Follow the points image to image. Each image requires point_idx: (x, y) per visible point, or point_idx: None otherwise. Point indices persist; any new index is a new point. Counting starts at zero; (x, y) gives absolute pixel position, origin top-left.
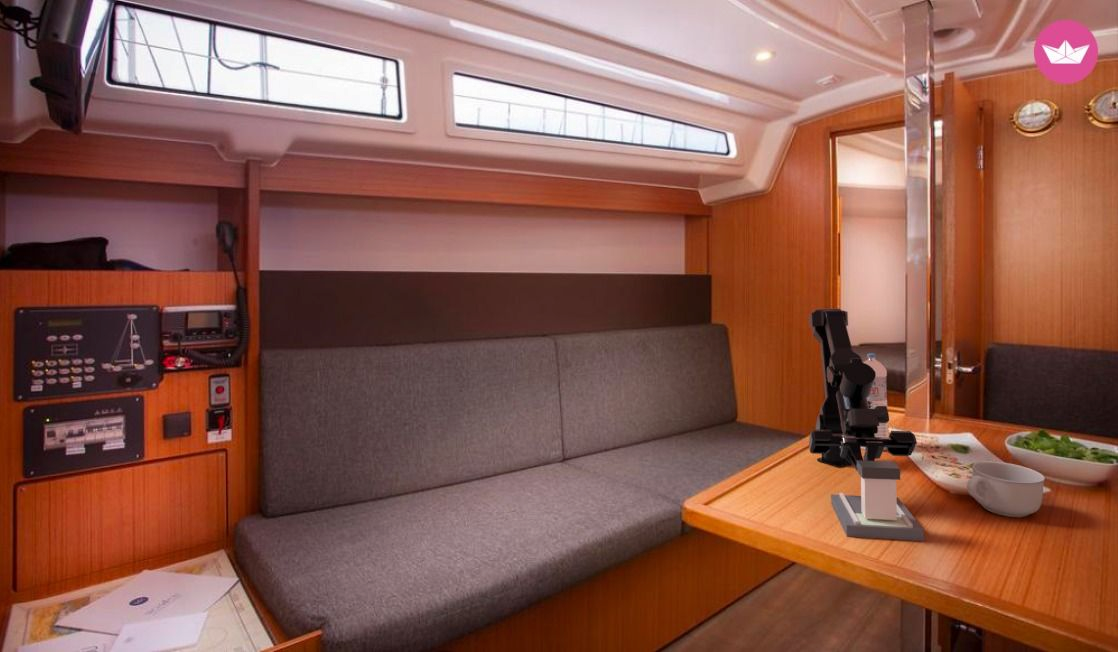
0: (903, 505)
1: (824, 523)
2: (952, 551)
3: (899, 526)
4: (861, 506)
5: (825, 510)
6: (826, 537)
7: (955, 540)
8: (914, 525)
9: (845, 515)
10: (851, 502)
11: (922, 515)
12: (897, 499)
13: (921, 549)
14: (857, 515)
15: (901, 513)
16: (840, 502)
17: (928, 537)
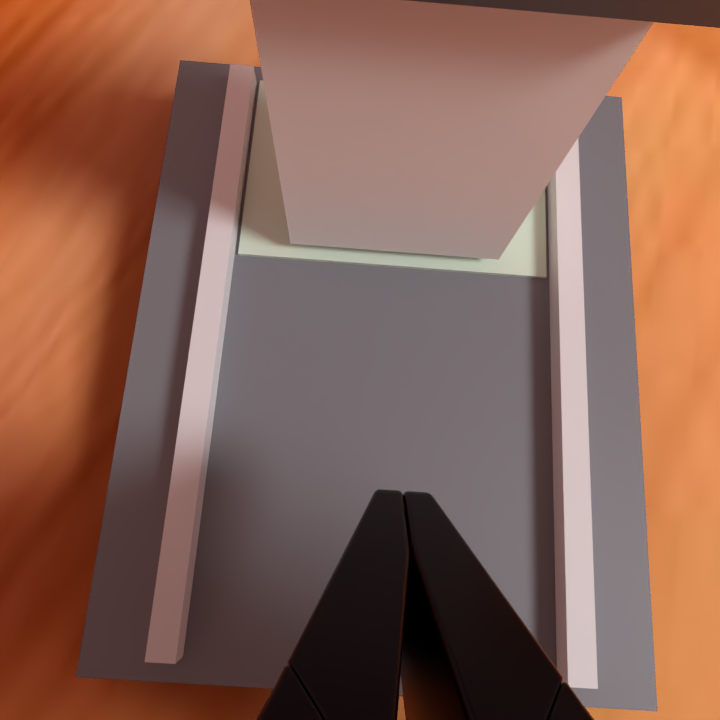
0: (116, 470)
1: (693, 308)
2: (110, 15)
3: None
4: (511, 235)
5: (667, 538)
6: (698, 125)
7: (18, 131)
8: (207, 115)
9: (604, 246)
10: (514, 508)
11: (5, 496)
12: (101, 620)
13: (253, 26)
14: (528, 236)
15: (225, 233)
16: (601, 502)
17: (148, 158)
